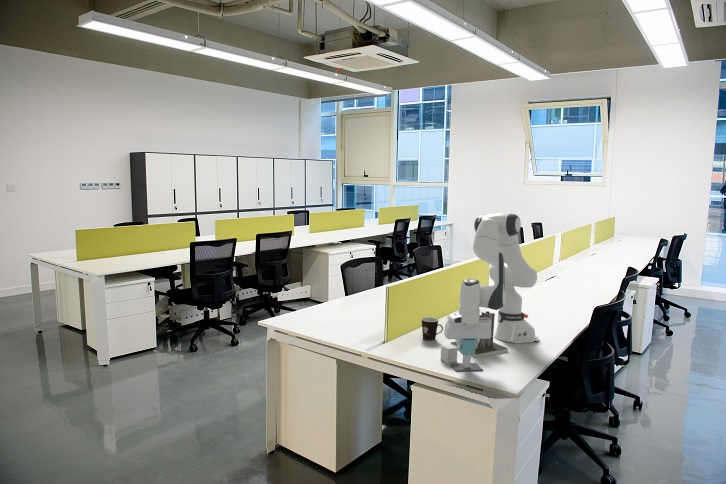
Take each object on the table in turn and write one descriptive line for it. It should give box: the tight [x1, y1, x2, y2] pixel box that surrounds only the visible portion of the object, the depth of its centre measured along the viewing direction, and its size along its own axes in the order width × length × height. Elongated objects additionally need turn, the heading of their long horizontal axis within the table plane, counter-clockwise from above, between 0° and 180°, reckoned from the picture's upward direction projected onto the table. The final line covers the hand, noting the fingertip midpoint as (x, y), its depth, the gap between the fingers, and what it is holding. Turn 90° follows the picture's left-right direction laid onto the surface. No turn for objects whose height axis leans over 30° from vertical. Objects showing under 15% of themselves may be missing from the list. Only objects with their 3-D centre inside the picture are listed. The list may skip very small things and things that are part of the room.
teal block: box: [458, 339, 476, 356], centre depth 213 cm, size 5×5×7 cm
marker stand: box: [449, 355, 484, 373], centre depth 214 cm, size 12×8×7 cm, turn 98°
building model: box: [449, 310, 509, 359], centre depth 238 cm, size 20×20×18 cm
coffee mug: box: [421, 316, 444, 342], centre depth 251 cm, size 12×9×10 cm
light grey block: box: [440, 343, 459, 364], centre depth 222 cm, size 5×5×7 cm
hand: (467, 348), depth 213 cm, fingers closed on teal block, 5 cm apart
